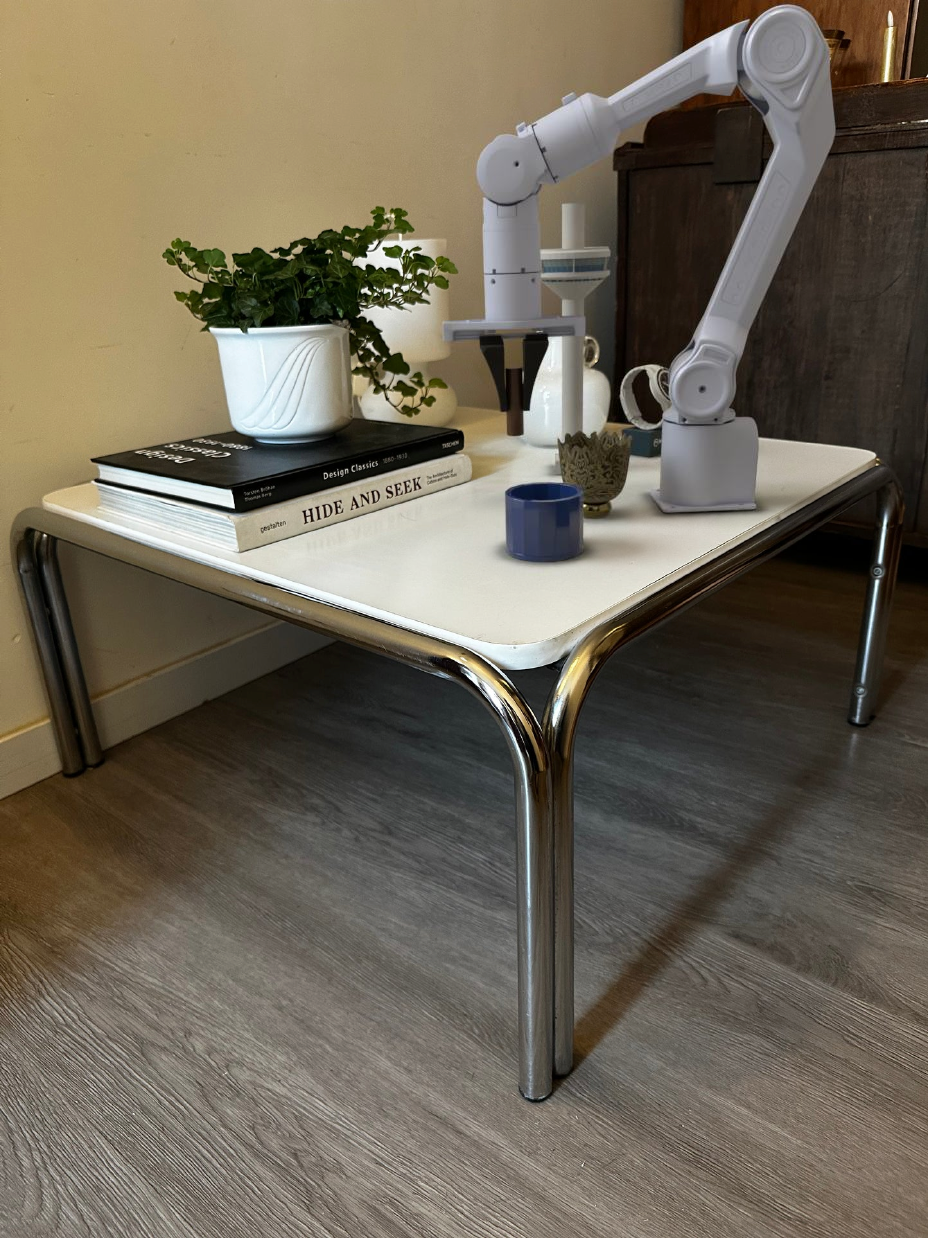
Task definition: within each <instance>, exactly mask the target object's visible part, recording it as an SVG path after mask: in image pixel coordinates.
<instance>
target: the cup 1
mask: <svg viewBox="0 0 928 1238" xmlns="http://www.w3.org/2000/svg"><path fill="white" fill-rule="evenodd" d="M504 516H505V518H504V519H505V547H506V554H508V555H509V556H510V557H512V558H515V559H518V560H521V561H525V562H526V561H527V562H535V563H548V562H549V563H550V562H559V561H565V560H569V559H572V558H575V557H578V556H579V555H580V554H582V552H583V551H584V549H583V547H584V519H585V518H584V492H583V490H582V488H580V487H578V486H575V485H572V484H566V483H563V482H557V481H556V482H555V481H540V482H539V481H538V482H537V481H536V482H527V483H521V484H518V485H517V484H516V485H514V486H511V487H509V488H507V489H506V490H504Z"/></svg>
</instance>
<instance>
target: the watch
mask: <svg viewBox="0 0 928 1238" xmlns="http://www.w3.org/2000/svg"><path fill="white" fill-rule="evenodd" d="M669 369H670V368H667V367H663V366H661V365H659V364H646V365H641V366H637V367H634V368H633V369H630V370H629V371H628V372H627V373H626V375H625V376H624V378H623V379H622V382H621V385H620V394H619V399H620V403H621V407H622V409H623V412H624V415H625V416H626V418H627V420H628V422H629V423H631V424H633V426H629V427H626V428H622V429H621V438H622V437H623V435H624V433H625V434H626V437H627V438H628V437H629V436H631V435H632V446H631V452H630V456H636V457H637V456H638V457H645V458H652V457H654V456H657V455H661V446H662V421H663V417H662V419H660V421H659V422H658V423H652V422H647V421H646V420H644V419H643V417H642V413H641V411H640V410H639V407H638V404H637V401H636V398H635V397H636V396H635V394H634V393H633V387H632V386H633V384H632V383H633V382H634V379H635V378H636V377H637V375H638V374H639V373H640V372H641V371H643V370H645V371H646V374H647V377H648V378H649V389H650V391H651V394H652V395H653V397H654V399H655V400H656V402H658V403H659V404H660V406H661V411H663V412H665V411H666V410H668V409H669V408H670V407H671V406H672V403H671V400H670V397H669V383H668V373H669ZM627 438H626V439H627Z"/></svg>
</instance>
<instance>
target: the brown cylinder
mask: <svg viewBox="0 0 928 1238" xmlns="http://www.w3.org/2000/svg"><path fill="white" fill-rule="evenodd" d="M505 387H506V396H507V412H505V413H506V415H505V416H506V435H507V436H509V437H521V436H524V434H525V425H524V424H525V423H524V421H525V420H524V419H525V418H524V411H523V366H519V365H518V366H517V365H516V366H507V367H505Z"/></svg>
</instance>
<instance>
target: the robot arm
mask: <svg viewBox="0 0 928 1238" xmlns="http://www.w3.org/2000/svg"><path fill="white" fill-rule="evenodd" d="M750 21H751V18H749V19H746V20H743V21H740V22H737V23H735V24H733V25H731V26H729V27H727V28H725V29H723V30H721V31H719V32H716V33H715V34H713V35H712V36H711V35H710V36H709V37H708V38H705V39H704V40H702V41H700V42H698V43H696V45H694V46H691V47H690V48H689V49H687V50H685V51H684V52H682V53H680V54H679V55H677V56H675V57H673V58H672V59H671V60H668V61H667V62H665V63H664V64H662V65H660V66H659V67H657V68H656V69H654V70H652V71H651V72H649V73H647V74H646V75H644V76H641V78H639V79H637V80H635V81H634V82H632V83H631V84H629V85H628V86H626V87H624V88H622V89H620V90H619V91H617V92H616V93H614V94H613V95H611V96H609V97H602V96H599V95H597V94H594V93H592V92H586V93H584V94H582V95H580V96H579V97H577V95H576V94H575V92H571V93H568V94H567V95H566V96H563V97H562V98H561V102H562V105H563V106H561V107H559V108H557V109H555V110H554V111H552V112H549V113H548V114H546V115H545V116H543V117H541V118H540V119H538V120H536V121H534V122H532V123H530V124H527V122H525V121H523V122H521V123H520V124H518V125H516V126H515V131H516V132H517V135H514V134H509V133H508V134H507V133H505V134H499V135H497V136H496V137H495V138H493V139H494V140H493V141H491V142H490V143H488V145H486V146H485V147H484V149H483V150H482V151H481V153H480V155H479V157H478V159H477V164H476V180H477V182H478V186H479V187H480V189H481V191H482V193H483V194H485V196H486V197H482V204H483V205H482V215H483V223H482V254H483V255H482V256H483V257H482V258H483V284H484V285H483V286H484V315H485V316H484V317H485V318H475V319H473V318H472V319H461V320H443V321H442V323H441V328H442V342H443V343H454V342H465V341H479V342H478V343H479V349H480V351H481V353H482V356H483V357H484V359H485V362H486V364H487V367H488V369H489V371H490V374H491V376H492V379H493V382H494V385H495V389H496V393H497V397H498V401H499V402H498V403H499V410H500V413H506V412H507V396H506V375H505V368H506V367H505V366H506V365H505V364H506V363H505V341H504V340H511V339H522V343H521V344H522V368H523V412H530V411H531V402H532V397H533V391H534V387H535V384H536V380H537V377H538V373H539V371H540V368H541V365H542V363H543V360H544V358H545V356H546V354H547V352H548V348H549V346H550V340H549V338H559V337H560V338H562V336H575V337H581V336H584V337H586V316H585V315H584V316H583V315H580V316H562V315H542V281H541V272H540V271H541V249H542V248H541V222H540V220H539V196H538V195H539V193H540V192H541V189H542V188H543V185H545V184H548V185H549V186H551V187H552V186H555V185H557V184H558V183H561V182H562V181H564V180H566V179H568V178H570V177H571V176H574V175H575V174H577V173H579V172H581V171H583V170H585V169H587V168H588V167H590V166H592V165H594V164H596V163H598V162H599V161H602V160H603V159H606V158H608V157H610V156H611V155H612V154H613V152H614V151H615V148H616V144H617V141H618V139H619V136H620V134H622V133H623V132H625V131H626V130H628V129H631V128H633V127H635V126H637V125H638V124H640V123H642V122H645V121H646V120H648V119H651V118H652V117H654V116H656V115H659V114H661V113H663V112H665V111H667V110H670V109H671V108H673V107H675V106H676V105H677V106H678V105H679V104H681V103H683V102H685V101H687V100H688V99H691V98H692V97H695V96H697V95H699V94H711V95H718V96H726V97H727V96H728V97H729V96H732V94H733V92H734V90H735V88H736V86H737V87H738V89H739V91H740V92H741V94H742V95H743V96H744V97H745V99H747V101H749V103H750V104H751V105H752V106H753V107H754V108H755V109H757V111H758V112H759V113H760V115H762V120H763V122H764V124H765V127H766V129H767V131H768V134H769V136H770V139H771V140H772V143H773V151H772V153H771V155H770V157H769V159H768V162H767V164H766V167H765V169H764V171H763V174H762V176H761V179H760V181H759V184H758V186H757V188H756V191H755V193H754V195H753V198H752V200H751V203H750V205H749V207H748V210H747V212H746V214H745V217H744V219H743V221H742V224H741V226H740V228H739V231H738V233H737V236H736V238H735V240H734V243H733V245H732V247H731V250H730V253H729V254H728V256H727V259H726V262H725V264H724V267H723V269H722V271H721V273H720V275H719V278H718V280H717V283H716V285H715V288H714V290H713V292H712V295H711V297H710V299H709V302H708V304H707V306H706V309H705V311H704V314H703V315H702V318H701V319H700V321H699V322H698V325H697V327H696V329H695V331H694V333H693V336H692V338H691V340H690V342H689V343H688V345H687V346H686V347H685V348H684V349H683V350H682V351H680V353H678V354H677V355H676V357H674V359H673V360H672V362H671V364H670V367H669V368H668V369H669V373H668V383H669V397H670V400H671V403H672V406H671V407H670V408H669V409H668V410H666V411H665V412H664V411H663V412H662V418H663V421H662V446H661V454H660V473H659V474H660V475H659V488H658V489H657V488H655V489H653V488H652V489H650V490H649V495H650V496H651V498H652V499H653V500H654V502H655V503H656V504H657V505H658V507H659V508H660V510H661V511H662V512H663V513H689V512H690V513H691V512H693V513H694V512H717V511H718V512H719V511H742V510H755V509H757V503H755V497H756V488H757V487H756V485H757V473H758V464H759V463H758V462H759V448H760V446H759V444H760V443H759V441H760V440H759V430H758V426H757V424H756V420H755V419H754V418H753V417H750V416H736V412H735V410H734V409H733V408H730V406H731V405H732V403H733V401H734V399H735V396H736V391H737V381H736V380H737V379H736V377H737V376H736V373H737V370H738V366H739V364H740V361H741V359H742V357H743V353H744V350H745V346H746V343H747V339H748V335H749V332H750V330H751V327H752V326H753V323H754V321H755V318H756V316H757V314H758V311H759V309H760V307H761V304H762V302H763V301H764V299H765V296H766V293H767V291H768V289H769V287H770V285H771V283H772V280H773V278H774V275H775V274H776V272H777V269H778V266H779V264H780V262H781V260H782V258H783V256H784V253H785V251H786V248H787V246H788V245H789V242H790V240H791V237H792V235H793V233H794V231H795V229H796V226H797V224H798V222H799V220H800V217H801V215H802V213H803V210H804V208H805V206H806V204H807V202H808V200H809V197H810V195H811V193H812V191H813V188H814V186H815V184H816V181H817V179H818V176H819V175H820V173H821V170H822V168H823V166H824V164H825V161H826V159H827V157H828V155H829V152H830V150H831V148H832V146H833V143H834V140H835V137H836V121H835V111H834V102H833V101H834V100H833V92H832V82H831V81H832V80H831V48H830V46H829V44H828V42H827V40H826V38H825V36H824V34H823V32H822V31H821V29H820V27H819V25H818V23H817V21H816V19H815V18H814V17H813V15H812V14H811V13H810V12H809V11H808V10H807V9H806V8H803V7H802V6H798V5H795V4H779V5H776V6H774V7H771V8H769V9H768V10H766V11H764V12H762V14H760V15H759V16H758V17H757V18H756V19H755V20H754V21H753V23H752V24H751V25H750V28H749V29H748V31H747V32H746V30H747V28H748V25H749V23H750ZM516 330H517V331H519V330H531V331H528V332H507V333H497V332H496V331H516Z"/></svg>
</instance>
